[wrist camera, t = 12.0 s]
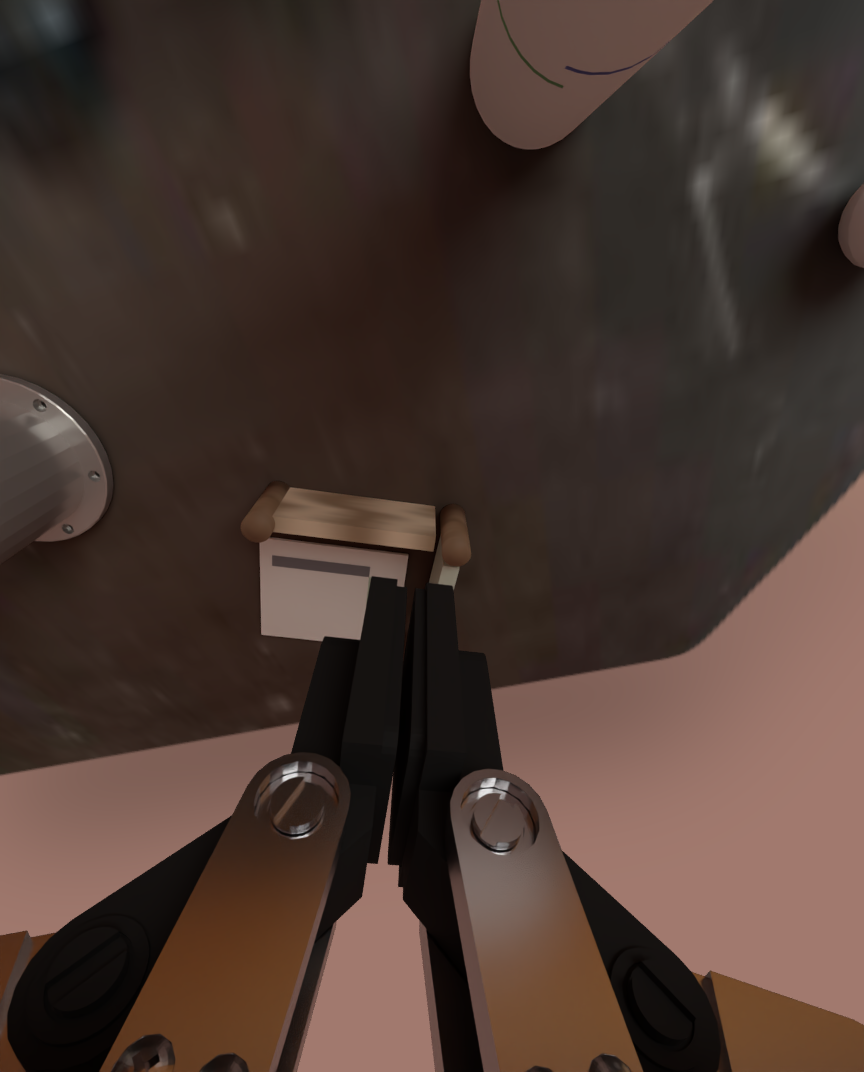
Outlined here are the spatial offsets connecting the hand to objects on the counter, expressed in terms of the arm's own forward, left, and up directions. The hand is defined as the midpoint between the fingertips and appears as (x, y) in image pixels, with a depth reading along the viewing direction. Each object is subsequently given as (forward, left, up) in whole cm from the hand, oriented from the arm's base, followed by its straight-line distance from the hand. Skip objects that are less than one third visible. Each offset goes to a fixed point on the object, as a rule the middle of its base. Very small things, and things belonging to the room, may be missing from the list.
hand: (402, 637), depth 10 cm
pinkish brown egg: (+26, +14, -27) cm, 40 cm away
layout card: (-5, -19, -27) cm, 33 cm away
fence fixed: (-3, -10, -27) cm, 29 cm away
